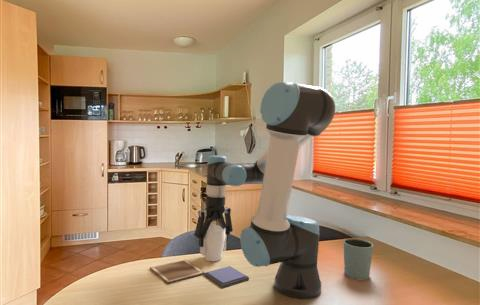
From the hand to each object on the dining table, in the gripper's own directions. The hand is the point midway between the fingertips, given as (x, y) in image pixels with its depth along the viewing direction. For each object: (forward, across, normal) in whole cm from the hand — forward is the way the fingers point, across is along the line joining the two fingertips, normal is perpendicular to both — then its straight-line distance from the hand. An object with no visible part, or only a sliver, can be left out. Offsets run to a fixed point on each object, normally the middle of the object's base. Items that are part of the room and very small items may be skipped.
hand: (213, 252), depth 130 cm
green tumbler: (+3, -36, +40) cm, 54 cm away
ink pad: (+2, +6, +17) cm, 18 cm away
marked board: (+2, +18, +4) cm, 18 cm away
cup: (+3, 0, 0) cm, 3 cm away
